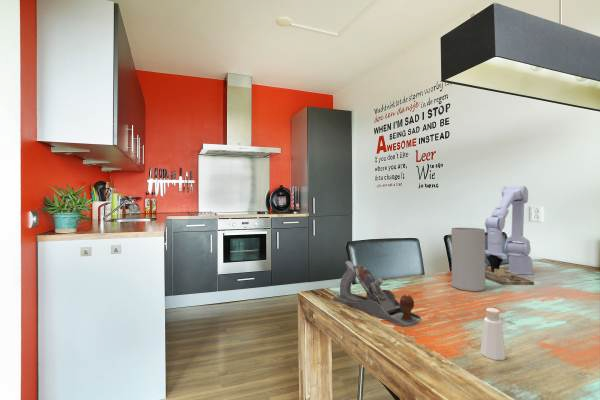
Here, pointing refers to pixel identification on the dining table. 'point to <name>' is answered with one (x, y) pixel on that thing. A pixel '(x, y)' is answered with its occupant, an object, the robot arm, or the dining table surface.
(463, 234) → the cylinder vase
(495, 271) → the block
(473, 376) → the dining table surface
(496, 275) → the trammel
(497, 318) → the salt shaker
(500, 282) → the slide rail board
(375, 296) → the hand plane
